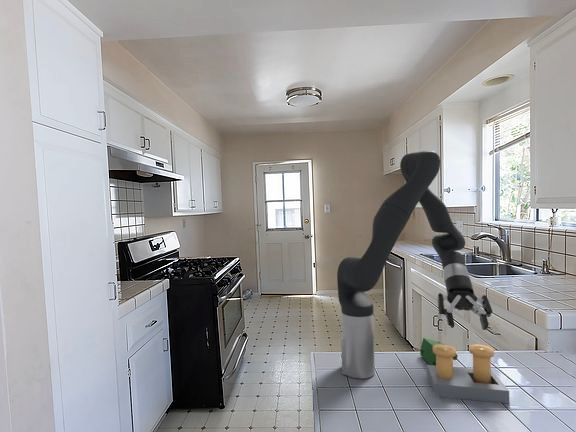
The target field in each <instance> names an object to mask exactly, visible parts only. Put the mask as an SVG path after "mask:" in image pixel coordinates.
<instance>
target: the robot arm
mask: <svg viewBox="0 0 576 432" xmlns="http://www.w3.org/2000/svg"><path fill="white" fill-rule="evenodd" d="M399 167H400V172H401V175H402V176H403V179H404V180H405V183H404V184H403V185H402V186H400V187H399V188H398V189H397V190H395V191H393V193H391V194H390V195H389V196H388V197H386V199H385V200H384V201H383V202H382V203H381V205H380V207H379V209H378V210H377V212H376V214H375V216H374V218H373V220H372V221H373V222H372V231H371V232H372V234H371V235H372V237H371V241H370V243H369V245H368V247H367V248H366V251H365V252H364V254H363V255H362V256H361V257H355V256H349V257H345V258H344V259H342V260H341V261H340V263H339V265H338V268H337V273H336V277H337V278H336V280H337V281H336V282H337V294H338V296H337V297H338V303H339V305H340V307H341V340H340V343H341V351H340V352H341V375H345V376H348V377H350V378H353V379H362V380H363V379H369V378H371V377H373V376H375V368H376V367H375V366H376V365H375V364H376V363H375V322H374V321H375V317H374V314H375V313H374V311H375V310H374V304H373V302H372V301H371V300H370V299H369V298H368V296H367V295H366V292H370V291H371V290H372V289H373V288H375V286H376V285H377V284H378V282H379V279H380V277H381V276H382V273H383V271H384V268H385V266H386V264H387V261H388V260H389V259H388V258H389V256H390V254H391V252H392V250H393V248H394V246H395V245H396V243H397V242H398V241H397V240H398V239H399V237H400V235H401V233H402V232H403V230H404V229H405V227H406V225H407V223H408V221H409V220H410V218H411V216H412V213H413V211H414V210H415V208H416V207H417V205H418V203H419V204H420V205H421V208H422V210H423V211H424V214H425V217H426V219H427V221H428V223H429V226H430V228H431V230H432V231H433V232H434V233H438V234H437V235H434V237H432V239H431V240H432V241H431V244H432V248H433V249H434V251H435V252H436V253H437V255H438V257H439V260H440V262H441V266H442V273H443V281H444V285H445V289H446V293H447V295H445V294H442V293H438V295H437V307H438V308H437V309H438V313H439V315H444V316H445V317H446V322H447V325H448V326H449V328H452V329H454V327H455V321H454V316H453V312H454V311H455V310H457V311H463V310H464V311H471V312H472V313H473V314H476V315H477V316H478V317H479V321H480V325H481V329H482V330H483V331H487V329H488V327H489V320H488V318H490V317H491V316H492V314H493V309H492V306H491V304H490V302H489V299H488V296H487V295H485V294H484V295H482V296H477V295H475V291H474V287H473V284H472V280H471V277H470V276H471V275H470V273H469V271H468V268H467V265H466V262H465V258H464V256H463V254H462V253H461V252H458V251H462V250H463V249H464V248H465V245H466V240H465V237H464V235H463V234H462V232H461V231H459V229H458V228H457V227H456V226H455V225H454V223H453V221H452V218H451V216H450V212H449V211H448V208H447V206H446V205H445V203H444V202H443V200H442V199H440V197H439V196H437V195H436V194H435V192H433V191H432V190H431V189H430V188H429V187H430V185H431V184H432V183H433V182H434V180H435V179H436V177H437V175H438V173H439V171H440V169H441V158H440V155H439V154H438V153H437V152H436V151H434V150H422V151H417V152H414V151H413V152H410V153H407V154H404V155H403V157H402V158H401V159H400V164H399ZM446 301H447V302H448V303H449V304H450V305H449V307H448V308H445V302H446ZM478 303H479V304H478ZM481 305H482V307H481Z"/></svg>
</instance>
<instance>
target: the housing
mask: <svg viewBox="0 0 576 432" xmlns="http://www.w3.org/2000/svg"><path fill="white" fill-rule="evenodd" d="M433 353H434V354H436V366H435V365H430V364H426V376H428V377H427V379H428V381H430V382H429V383H430V387H431V389H432V391H433V394H434V396H435V397H442V398H452V399H461V400H463V399H464V400H470V399H471V400H472V401H481V402H492V403H498V404H502V403H503V404H510V390H509V389H508V388H507V387H506V385H505V383H503V382H502V380H501V379H500V378H499V377H498V376H497V374H496V373H495V371H493V370H492V369H491V384H485V383H474V382H473V368H471V367H470V368H469V367H458V366H454V360H453V357H455V356H456V354H457V348H455V347H453V346H451V345H447V344H444V345H441V344H438V345H434V346H433Z"/></svg>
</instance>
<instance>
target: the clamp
mask: <svg viewBox="0 0 576 432" xmlns="http://www.w3.org/2000/svg"><path fill="white" fill-rule="evenodd" d="M438 344H441V345H445V343H443V342H441V341H439V340H435V339H429V338H425V337H423V338H422V342H421V346H420V350H419V351H420V352H419V353H420V354H419V355H420V357H422V359H423V360H424V361H425V362H426V363H428V365H435V366H436V354H434V353H433V346H434V345H438ZM458 355H459V354H458V353H456V356H455V357H453V361H456V360H457V359H458Z"/></svg>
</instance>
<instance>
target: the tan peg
mask: <svg viewBox="0 0 576 432" xmlns="http://www.w3.org/2000/svg"><path fill="white" fill-rule="evenodd" d="M468 352H469V353H470V354H471V355H472V369H473V382H474V383H485V384H491V370H492V361H491V360H492V359H491V358H493V357H495V349H494V348H493V347H490V346H488V345H484V344H477V343H476V344H474V343H473V344H469V346H468Z"/></svg>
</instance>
